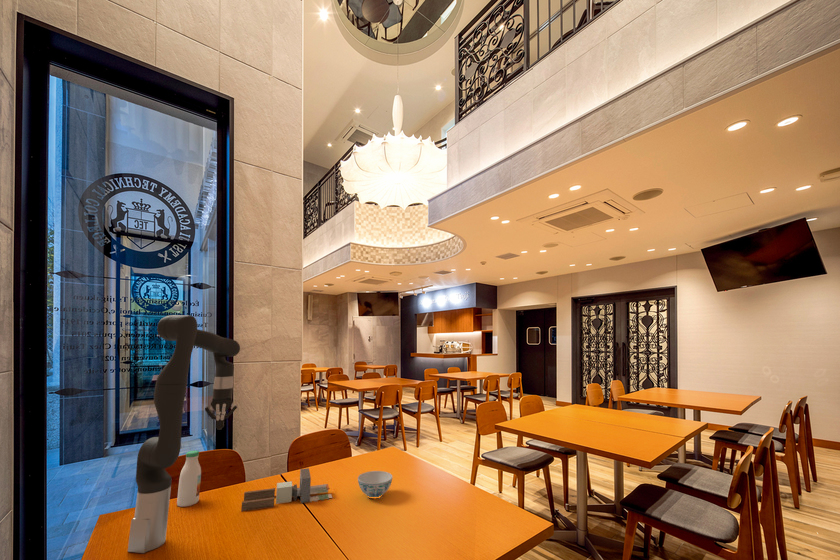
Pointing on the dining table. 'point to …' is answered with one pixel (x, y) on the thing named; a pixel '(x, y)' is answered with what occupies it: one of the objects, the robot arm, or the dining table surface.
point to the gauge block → (284, 492)
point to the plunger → (311, 490)
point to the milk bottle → (189, 480)
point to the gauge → (268, 493)
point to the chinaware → (375, 482)
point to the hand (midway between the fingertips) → (219, 429)
